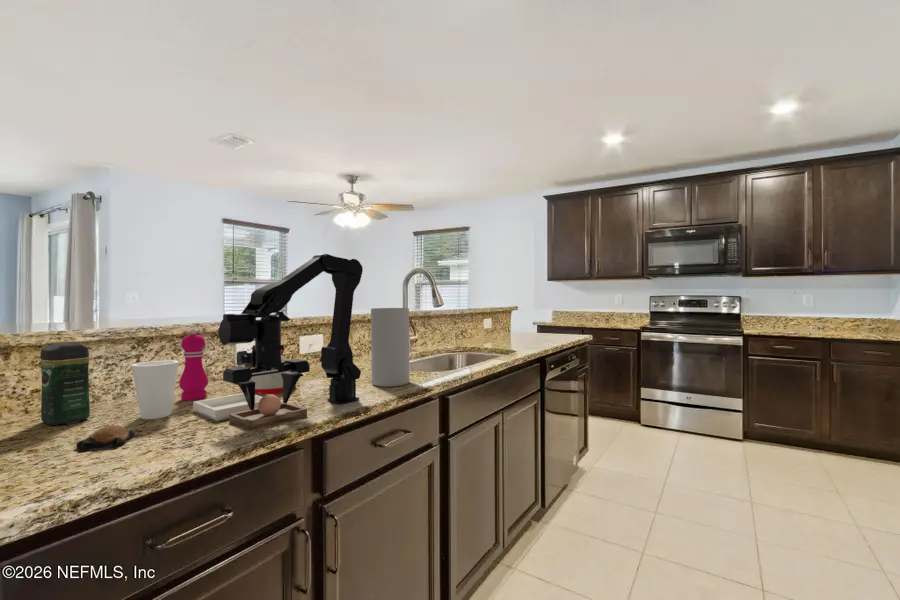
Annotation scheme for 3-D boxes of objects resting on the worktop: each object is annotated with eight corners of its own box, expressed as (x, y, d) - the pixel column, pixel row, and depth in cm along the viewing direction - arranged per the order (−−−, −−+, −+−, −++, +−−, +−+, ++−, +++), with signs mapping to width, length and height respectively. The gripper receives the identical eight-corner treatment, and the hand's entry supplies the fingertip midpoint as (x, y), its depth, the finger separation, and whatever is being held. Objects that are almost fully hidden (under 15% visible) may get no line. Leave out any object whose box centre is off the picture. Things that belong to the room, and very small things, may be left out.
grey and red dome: (240, 390, 134) (239, 342, 134) (282, 383, 144) (281, 338, 144) (261, 396, 125) (260, 345, 125) (304, 388, 135) (303, 341, 135)
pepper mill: (173, 399, 122) (172, 329, 122) (196, 394, 128) (196, 327, 128) (191, 401, 119) (190, 330, 119) (214, 396, 126) (213, 328, 125)
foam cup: (155, 422, 100) (154, 366, 100) (122, 420, 102) (121, 365, 102) (187, 411, 109) (187, 360, 109) (157, 409, 111) (156, 359, 111)
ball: (273, 412, 105) (274, 391, 105) (284, 415, 102) (285, 394, 102) (253, 415, 101) (254, 394, 102) (263, 419, 98) (264, 397, 98)
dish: (247, 401, 119) (246, 392, 119) (271, 409, 111) (271, 399, 111) (193, 411, 109) (193, 401, 109) (215, 421, 100) (215, 410, 100)
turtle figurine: (90, 440, 89) (90, 422, 89) (139, 435, 93) (139, 418, 93) (68, 457, 79) (67, 437, 79) (123, 450, 83) (123, 431, 83)
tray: (285, 409, 110) (285, 402, 110) (307, 416, 104) (306, 408, 104) (229, 421, 99) (229, 414, 99) (249, 430, 93) (249, 422, 93)
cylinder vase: (383, 378, 150) (382, 307, 150) (415, 381, 146) (414, 308, 146) (364, 386, 138) (363, 309, 138) (399, 388, 134) (398, 309, 134)
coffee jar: (95, 419, 103) (94, 342, 102) (52, 428, 96) (51, 345, 96) (78, 414, 107) (77, 340, 107) (36, 422, 101) (34, 343, 100)
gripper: (287, 336, 114) (287, 394, 114) (212, 342, 99) (213, 409, 100) (310, 338, 107) (311, 400, 107) (233, 345, 92) (234, 417, 92)
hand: (269, 406), depth 102 cm, fingers open, 8 cm apart
